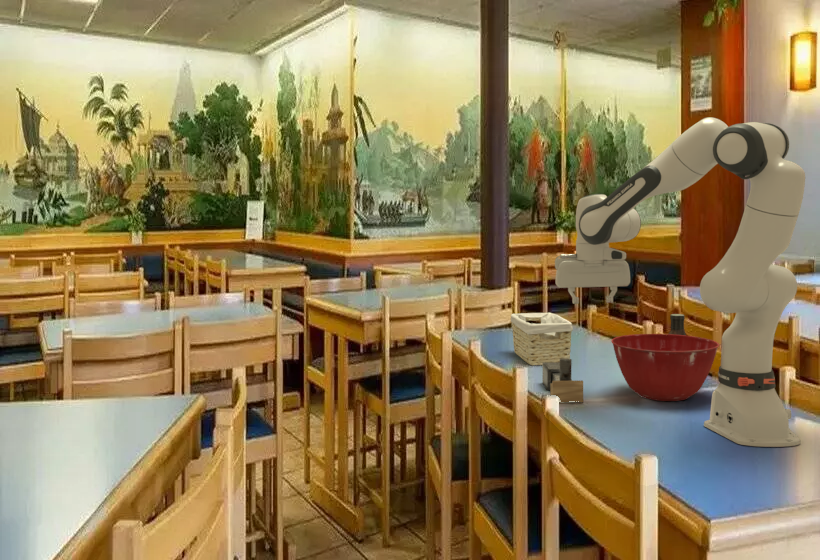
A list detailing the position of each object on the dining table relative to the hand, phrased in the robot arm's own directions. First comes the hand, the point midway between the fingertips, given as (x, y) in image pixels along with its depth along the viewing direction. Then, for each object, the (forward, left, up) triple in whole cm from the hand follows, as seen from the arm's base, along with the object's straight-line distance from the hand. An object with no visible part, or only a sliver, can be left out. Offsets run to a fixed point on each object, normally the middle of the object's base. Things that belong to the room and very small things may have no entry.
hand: (592, 303), depth 206 cm
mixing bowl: (0, -20, -26) cm, 33 cm away
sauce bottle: (+19, -30, -26) cm, 44 cm away
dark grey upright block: (0, +8, -25) cm, 26 cm away
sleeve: (+10, +8, -26) cm, 29 cm away
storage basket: (+50, +7, -27) cm, 57 cm away
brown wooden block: (-6, +8, -26) cm, 28 cm away
